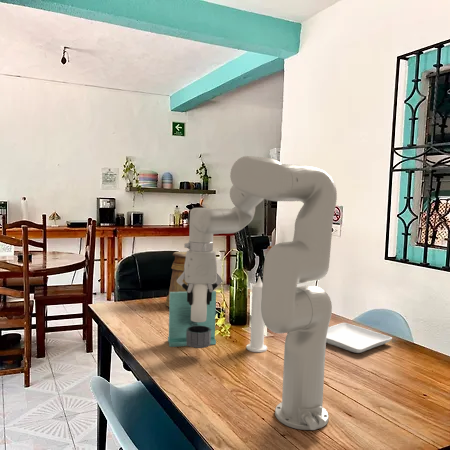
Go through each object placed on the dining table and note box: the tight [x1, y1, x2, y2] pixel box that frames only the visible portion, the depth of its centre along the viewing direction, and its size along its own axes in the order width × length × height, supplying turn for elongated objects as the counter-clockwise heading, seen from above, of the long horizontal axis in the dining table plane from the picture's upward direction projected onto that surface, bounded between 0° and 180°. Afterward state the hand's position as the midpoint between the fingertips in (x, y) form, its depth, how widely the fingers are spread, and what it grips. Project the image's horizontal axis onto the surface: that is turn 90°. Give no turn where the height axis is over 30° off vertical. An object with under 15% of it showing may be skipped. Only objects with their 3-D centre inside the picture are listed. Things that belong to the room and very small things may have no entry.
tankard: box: [165, 251, 188, 308], centre depth 202 cm, size 18×24×25 cm
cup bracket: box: [167, 290, 217, 349], centre depth 145 cm, size 20×16×18 cm
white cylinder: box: [191, 284, 208, 322], centre depth 139 cm, size 5×5×14 cm
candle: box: [246, 276, 268, 353], centre depth 148 cm, size 7×7×25 cm
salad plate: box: [326, 322, 393, 354], centre depth 158 cm, size 21×21×3 cm
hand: (199, 303), depth 139 cm, fingers closed on white cylinder, 5 cm apart
